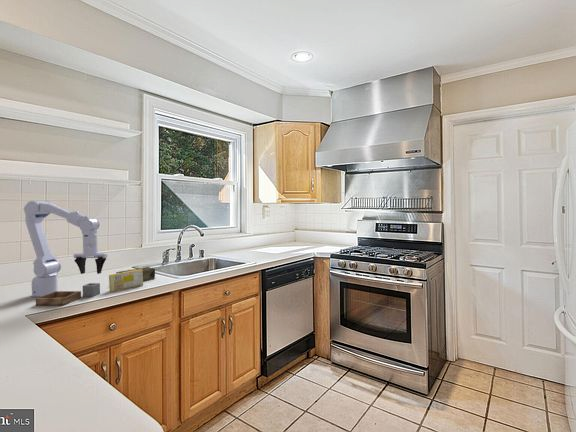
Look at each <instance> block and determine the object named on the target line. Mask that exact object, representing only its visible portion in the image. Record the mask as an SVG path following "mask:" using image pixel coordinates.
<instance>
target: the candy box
mask: <svg viewBox="0 0 576 432" xmlns="http://www.w3.org/2000/svg"><path fill="white" fill-rule="evenodd" d="M108 284H109V287H108V288H109V292H115V291H120V290H125V289H126V290H127V289H131V288H135V287H139V286H143V285H144V281H143V270H142V269H140V270H134V271H128V272H123V273H117V274H116V273H111V274H108Z"/></svg>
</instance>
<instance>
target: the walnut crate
mask: <svg viewBox="0 0 576 432" xmlns="http://www.w3.org/2000/svg"><path fill="white" fill-rule="evenodd" d="M79 299H82V291H81V290H80V291H79V290H76V291H75V290H70V291H69V290H65V291H64V290H58V291H55V292H52V293H50V294H47V295H44V296H42V297H36V298H35V307H44V306H45V307H46V306H47V307H56V306H57V307H60V306H61V307H62V306H66V305H69V304H70V303H73V302H75V301H77V300H79Z"/></svg>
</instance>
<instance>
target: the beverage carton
mask: <svg viewBox="0 0 576 432" xmlns="http://www.w3.org/2000/svg"><path fill="white" fill-rule="evenodd" d="M140 269H142V270H143V282H145V281H149V280H152V279H156V268H154V267H149V266H144V267H141V268H133V269H127V270H121V271H116V273H115V274H117V273H123V272H128V271H134V270H140Z"/></svg>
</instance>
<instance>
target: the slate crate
mask: <svg viewBox="0 0 576 432" xmlns="http://www.w3.org/2000/svg"><path fill="white" fill-rule="evenodd" d="M100 294H101V283H100V282H99V283H98V282H97V283H96V282H95V283H94V282H93V283H92V282H89V283H87V284H84V285H82V297H84V298H85V297H88V298H91V297H93V298H94V297H95V296H98V295H100Z"/></svg>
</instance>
